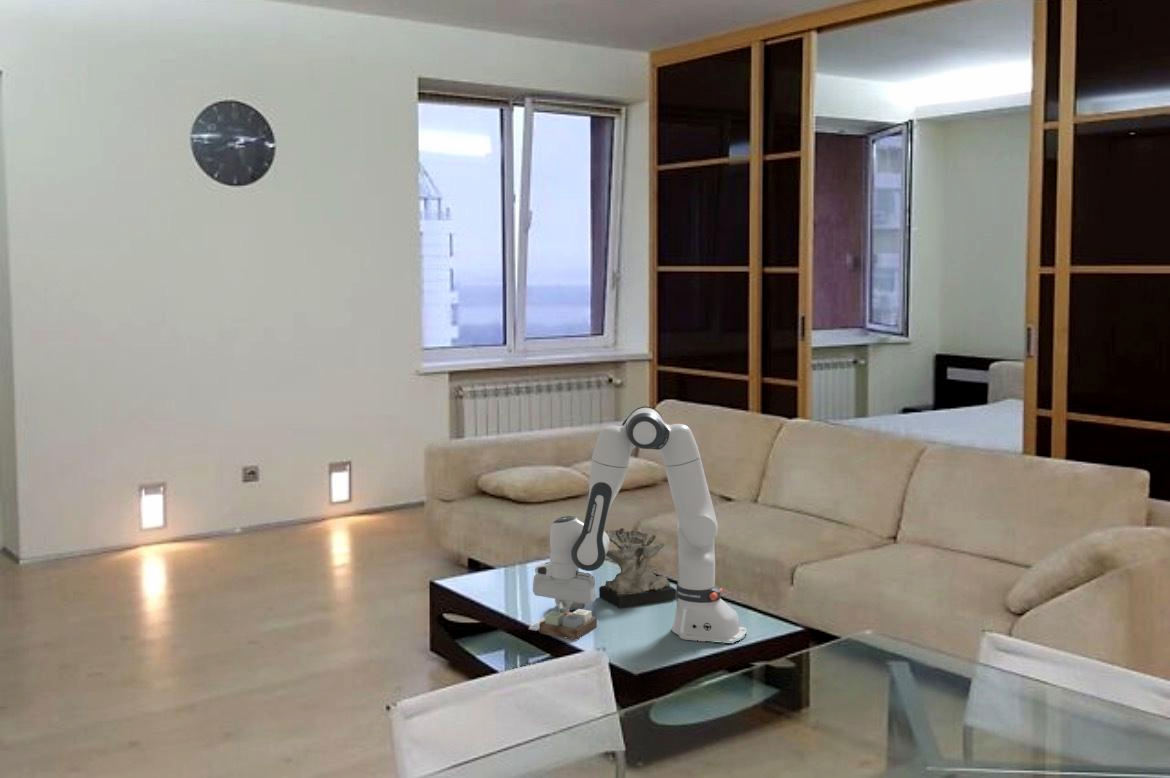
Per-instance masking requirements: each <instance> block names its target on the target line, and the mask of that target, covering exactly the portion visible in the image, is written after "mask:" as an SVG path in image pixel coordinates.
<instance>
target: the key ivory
mask: <svg viewBox="0 0 1170 778" xmlns="http://www.w3.org/2000/svg"><path fill="white" fill-rule="evenodd" d="M571 613H572V615H576V616H582V623H586V622H588V621H590V620H591V619H592V617H593V616H592V614H593V613H592V610H588V609H578V610H573V612H571Z"/></svg>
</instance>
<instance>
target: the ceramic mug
mask: <svg viewBox="0 0 1170 778" xmlns="http://www.w3.org/2000/svg"><path fill="white" fill-rule="evenodd" d="M561 603H562V605H563V607H566V606H567V604H566V600H562V601H561ZM585 605H586V604H583V603H577V602H573V603H572V605H571V607H570V608H569V611H576V610H578V609H582V610H584V608H585Z"/></svg>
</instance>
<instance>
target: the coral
mask: <svg viewBox="0 0 1170 778" xmlns="http://www.w3.org/2000/svg"><path fill="white" fill-rule="evenodd" d="M625 530H626V528H625V527H621V528H618V529H615V530H614V529H611V530H604V531H605V532H606V533H607V534H608V536H609V539H610V543H611V542H612V543H613V544H614V545H615V546H617V548H618V549H611V550H608V552H607V554H606V556H605V557H607V558H609V559H610V560H613V561H614V562H615V563H616V564H618V567H619V568H620V572H619V573H617V574H616V575H615V577H614V578H613V579H612V580H606V581H605V584H604V585H601V586H599V587H598V589H599V590H598V592H599V596H598V597H599V598H601V599H602V600H603V601H605V602H607V603H609V604H611V605H613V606H614V607H616V608H617V609H624V608H631V607H633V608H634V607H638V606H646V605H652V604H659V603H665V602H669V601H676V589H675V588H674V587H672V586H670V585H671V583H670V581H669V580H668V578H667V577H666V575H665V574H660V575H656V574H655V573H653V572H652V571H651V569H649V568H647V565H648V562H650V561H651V559H652V558H653V557H655V556H656V555H657V554H658V553H659V551H661V549H663V548H664V547H665V545H666V542H664V541H662V543H661V542H660V544H657V545H652V543H653V542H654V541H655V539H656V537H657V535H655V534H651V536H650V537H648V536H649V535H648V533H647V532H643V531H641V530H635V529H634V530H633V529H632V530H629V531H628V530H626V531H625ZM647 539H648V540H647ZM646 541H647V542H646ZM645 543H646V544H645ZM641 556H643V557H642V558H641Z"/></svg>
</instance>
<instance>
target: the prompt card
mask: <svg viewBox="0 0 1170 778" xmlns="http://www.w3.org/2000/svg"><path fill="white" fill-rule="evenodd" d="M543 621H545V617H544V618H542V619H541V620H539V621H537V622H535V623H534V624H532V625H531V626H529V627H528V630H529V631H530V630H531V631H535V632H536V631H539V623H541V622H543Z"/></svg>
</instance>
